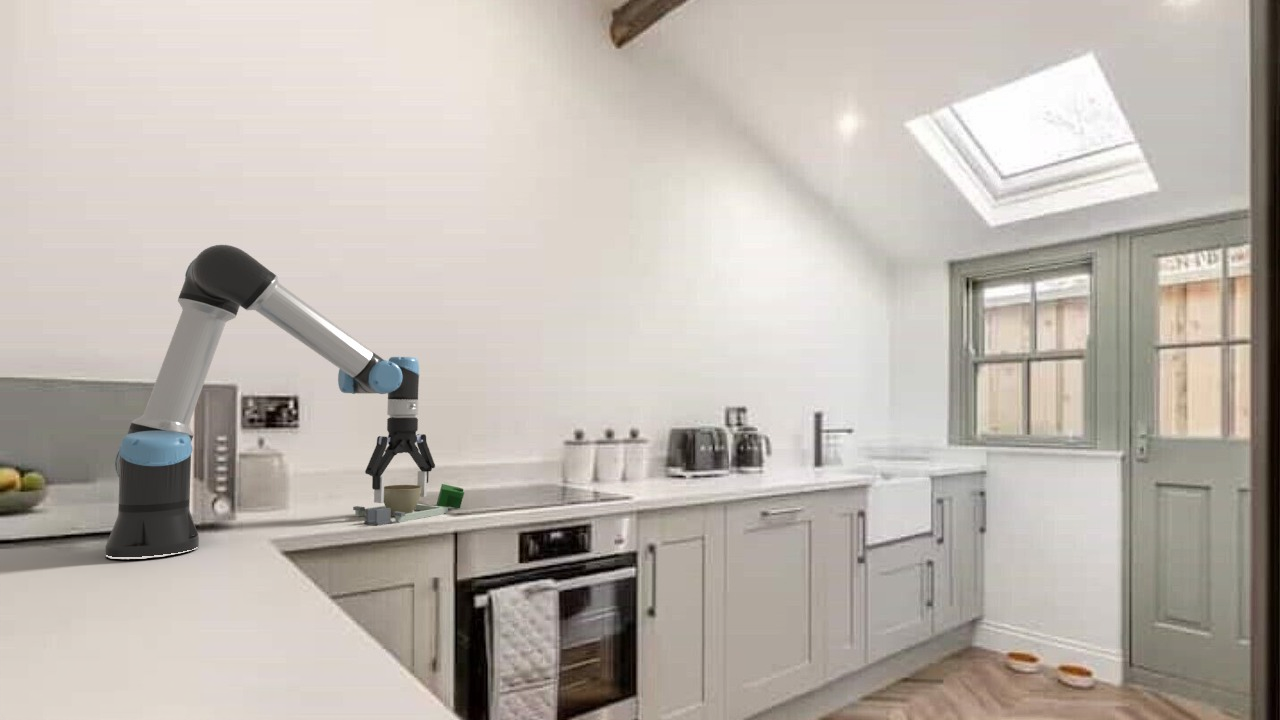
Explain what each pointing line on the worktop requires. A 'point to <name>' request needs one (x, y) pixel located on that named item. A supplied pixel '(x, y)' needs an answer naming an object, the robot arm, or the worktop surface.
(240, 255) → the robot arm
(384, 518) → the clip
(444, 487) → the clamp
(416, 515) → the holder
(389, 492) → the flower pot
